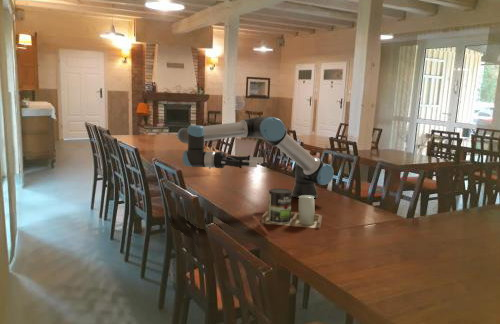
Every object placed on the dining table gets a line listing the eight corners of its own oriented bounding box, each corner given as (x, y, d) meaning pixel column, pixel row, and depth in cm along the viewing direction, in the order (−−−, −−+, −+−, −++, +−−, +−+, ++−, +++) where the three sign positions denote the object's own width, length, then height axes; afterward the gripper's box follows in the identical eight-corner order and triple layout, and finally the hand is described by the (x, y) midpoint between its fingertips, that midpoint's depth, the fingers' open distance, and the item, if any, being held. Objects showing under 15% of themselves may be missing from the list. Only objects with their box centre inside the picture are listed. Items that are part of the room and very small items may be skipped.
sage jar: (308, 220, 182) (307, 194, 181) (317, 223, 176) (317, 197, 175) (295, 222, 179) (295, 196, 178) (305, 226, 173) (304, 199, 171)
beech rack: (260, 225, 177) (261, 217, 176) (266, 217, 190) (266, 210, 189) (319, 230, 171) (320, 222, 170) (321, 222, 183) (322, 214, 183)
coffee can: (295, 222, 178) (296, 192, 176) (275, 225, 174) (276, 194, 172) (283, 216, 187) (284, 187, 185) (264, 219, 183) (264, 189, 181)
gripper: (223, 164, 197) (265, 166, 192) (206, 171, 173) (253, 174, 168) (223, 149, 196) (265, 151, 191) (206, 154, 172) (254, 157, 167)
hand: (260, 162), depth 179 cm, fingers open, 13 cm apart
